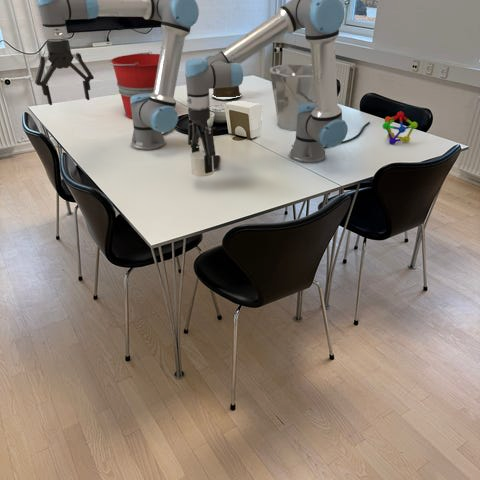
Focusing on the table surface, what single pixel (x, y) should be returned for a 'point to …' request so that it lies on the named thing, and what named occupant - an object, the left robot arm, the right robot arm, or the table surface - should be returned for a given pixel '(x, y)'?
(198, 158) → the canister
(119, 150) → the table surface
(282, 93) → the bucket
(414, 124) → the educational toy
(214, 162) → the smartphone
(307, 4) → the right robot arm
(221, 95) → the bell
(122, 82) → the bucket
